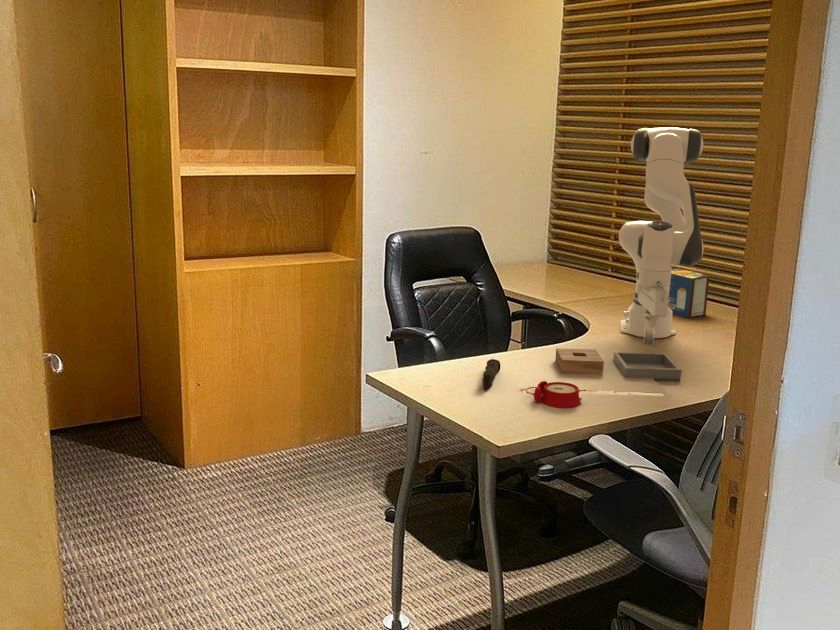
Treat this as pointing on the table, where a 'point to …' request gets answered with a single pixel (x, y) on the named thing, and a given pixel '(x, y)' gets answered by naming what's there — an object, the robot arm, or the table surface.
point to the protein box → (688, 293)
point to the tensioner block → (579, 361)
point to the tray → (647, 366)
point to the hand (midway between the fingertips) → (650, 324)
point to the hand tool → (490, 373)
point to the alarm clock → (557, 394)
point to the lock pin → (648, 330)
